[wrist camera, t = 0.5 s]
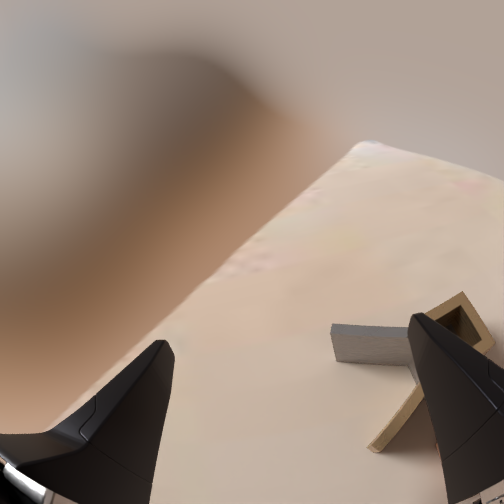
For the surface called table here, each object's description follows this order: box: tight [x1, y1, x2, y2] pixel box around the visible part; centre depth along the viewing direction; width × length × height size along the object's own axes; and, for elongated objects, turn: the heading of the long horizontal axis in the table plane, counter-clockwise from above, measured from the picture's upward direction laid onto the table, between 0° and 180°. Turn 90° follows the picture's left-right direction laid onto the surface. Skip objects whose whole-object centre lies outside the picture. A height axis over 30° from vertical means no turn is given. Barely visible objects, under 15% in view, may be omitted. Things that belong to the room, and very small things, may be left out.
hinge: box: [330, 291, 495, 453], centre depth 17 cm, size 10×11×6 cm
